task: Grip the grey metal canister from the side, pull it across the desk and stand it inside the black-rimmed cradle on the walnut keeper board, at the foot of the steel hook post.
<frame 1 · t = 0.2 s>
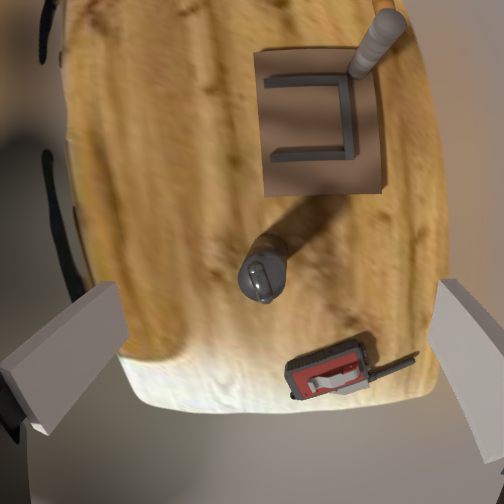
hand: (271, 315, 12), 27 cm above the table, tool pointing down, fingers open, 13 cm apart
grey metal canister: (269, 251, 39), on the table
keeper: (318, 120, 34), on the table
walkie-talkie: (347, 362, 43), on the table
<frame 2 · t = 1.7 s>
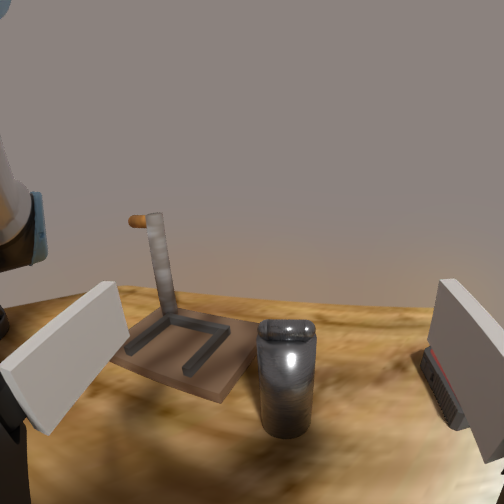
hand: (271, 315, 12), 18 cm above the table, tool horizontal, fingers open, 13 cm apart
grey metal canister: (286, 421, 26), on the table
keeper: (185, 349, 39), on the table
walkie-talkie: (453, 374, 29), on the table
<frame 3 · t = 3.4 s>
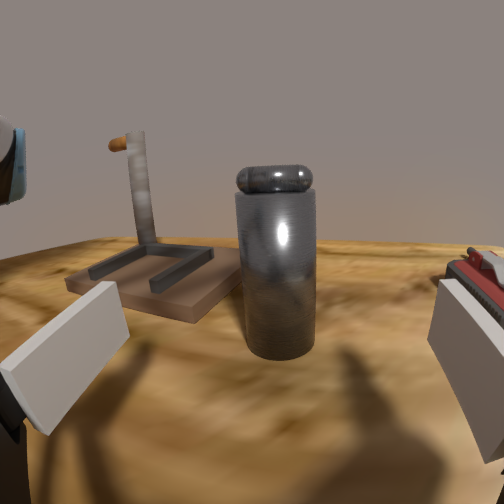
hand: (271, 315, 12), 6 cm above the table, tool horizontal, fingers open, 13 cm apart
grey metal canister: (280, 340, 21), on the table
keeper: (161, 277, 33), on the table
walkie-talkie: (484, 298, 23), on the table
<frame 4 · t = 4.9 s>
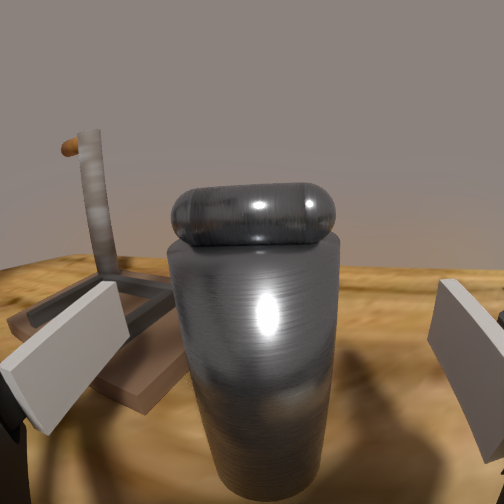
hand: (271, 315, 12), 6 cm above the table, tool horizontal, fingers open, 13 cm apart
grey metal canister: (267, 460, 11), on the table
keeper: (118, 323, 24), on the table
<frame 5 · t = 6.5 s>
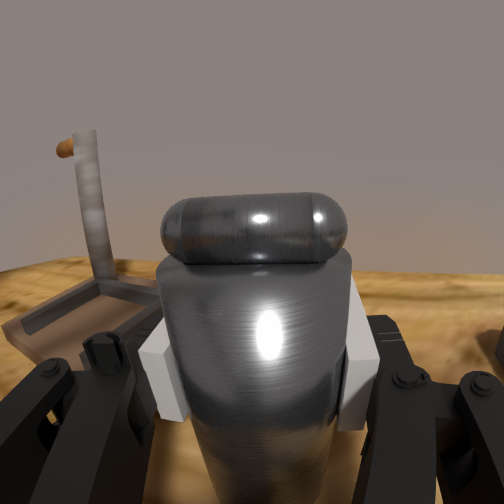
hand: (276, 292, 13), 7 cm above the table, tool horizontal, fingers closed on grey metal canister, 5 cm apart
grey metal canister: (268, 479, 10), on the table, touching gripper
keeper: (114, 330, 23), on the table
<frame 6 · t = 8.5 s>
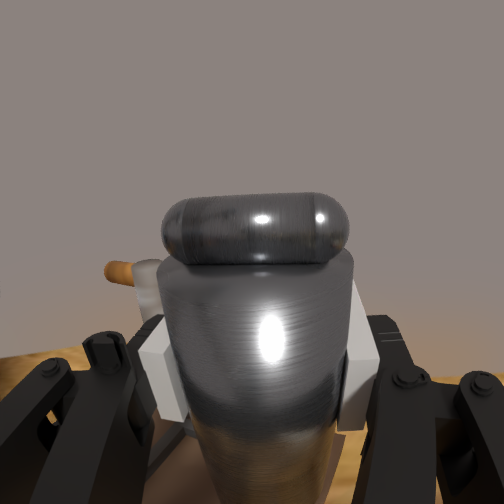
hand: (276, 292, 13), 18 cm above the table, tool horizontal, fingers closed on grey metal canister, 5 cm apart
grey metal canister: (269, 480, 10), point 11 cm above the table, touching gripper
keeper: (214, 479, 20), on the table
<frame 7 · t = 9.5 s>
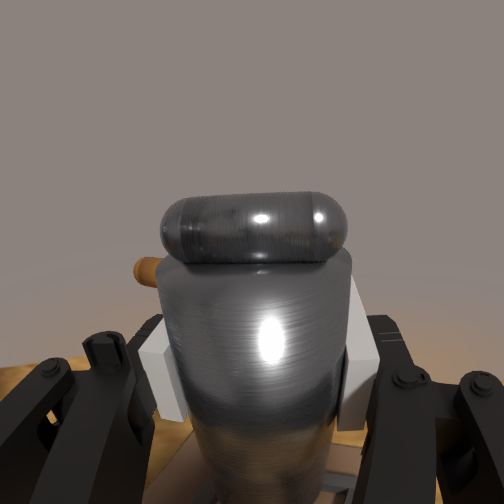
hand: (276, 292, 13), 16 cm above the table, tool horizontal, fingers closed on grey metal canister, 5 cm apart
grey metal canister: (268, 479, 10), point 10 cm above the table, touching gripper
when the fingers open (9 cm above the table, at t = 11.2 s): grey metal canister drops 1 cm, resting on keeper.
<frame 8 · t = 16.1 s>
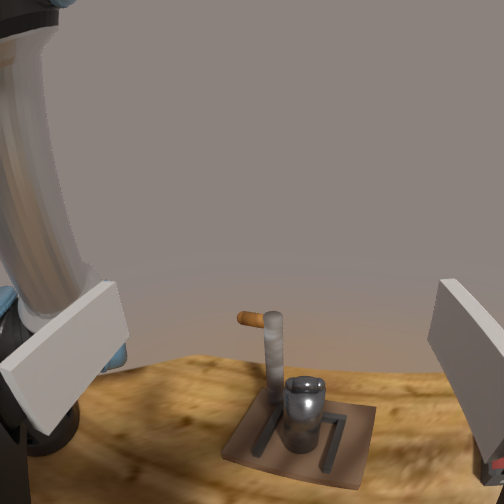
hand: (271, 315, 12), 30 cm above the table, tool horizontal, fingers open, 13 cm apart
grey metal canister: (300, 440, 35), point 2 cm above the table, touching keeper
keeper: (304, 438, 36), on the table
walkie-talkie: (501, 440, 26), on the table
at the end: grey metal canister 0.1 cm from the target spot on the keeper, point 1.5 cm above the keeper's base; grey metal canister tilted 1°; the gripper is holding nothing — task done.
